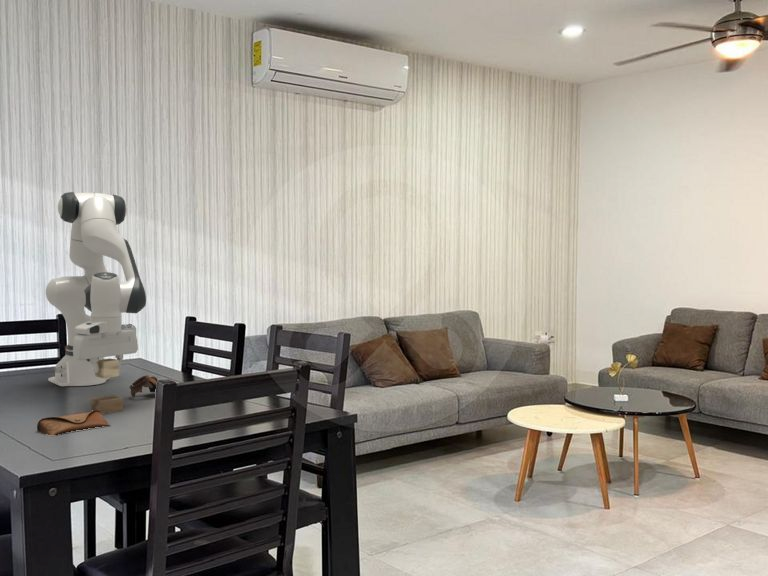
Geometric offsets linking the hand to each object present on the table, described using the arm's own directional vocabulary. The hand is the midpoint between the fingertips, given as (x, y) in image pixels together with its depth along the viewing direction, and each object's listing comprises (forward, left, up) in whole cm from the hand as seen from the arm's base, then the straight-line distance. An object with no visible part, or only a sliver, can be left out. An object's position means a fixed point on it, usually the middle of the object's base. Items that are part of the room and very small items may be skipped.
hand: (106, 371), depth 233 cm
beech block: (0, 0, -2) cm, 2 cm away
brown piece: (-9, +21, -13) cm, 26 cm away
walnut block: (0, 0, -13) cm, 13 cm away
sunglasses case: (+13, -18, -13) cm, 26 cm away
